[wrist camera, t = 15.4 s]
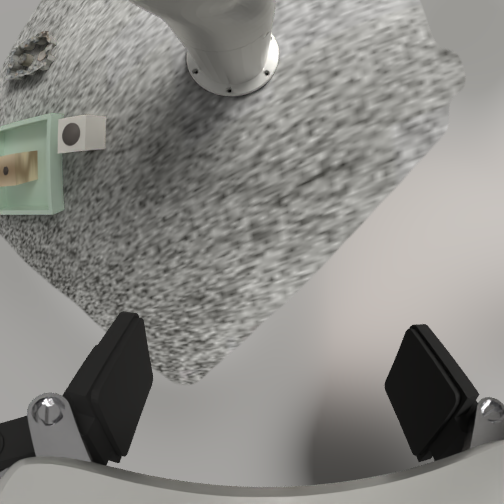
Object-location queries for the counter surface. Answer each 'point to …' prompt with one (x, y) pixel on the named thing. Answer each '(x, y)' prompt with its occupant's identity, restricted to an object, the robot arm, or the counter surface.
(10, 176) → the maple block
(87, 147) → the ivory block
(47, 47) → the egg carton
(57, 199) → the tray
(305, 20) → the counter surface
